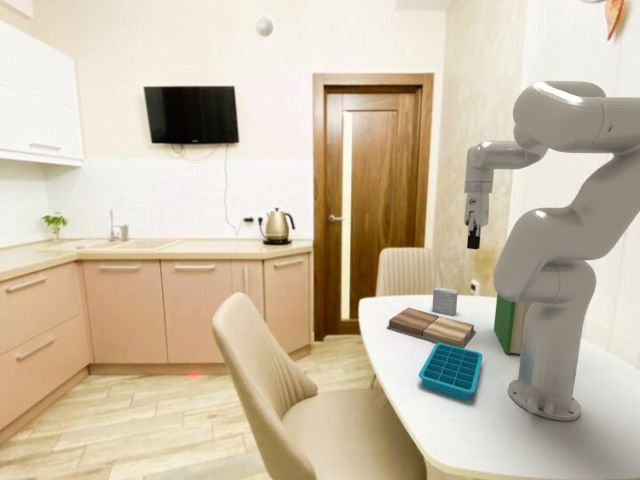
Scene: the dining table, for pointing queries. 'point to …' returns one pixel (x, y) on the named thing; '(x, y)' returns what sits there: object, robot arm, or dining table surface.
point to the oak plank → (449, 331)
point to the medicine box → (444, 301)
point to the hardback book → (510, 324)
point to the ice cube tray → (452, 371)
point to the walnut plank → (413, 321)
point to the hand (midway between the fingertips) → (473, 248)
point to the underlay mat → (427, 338)
